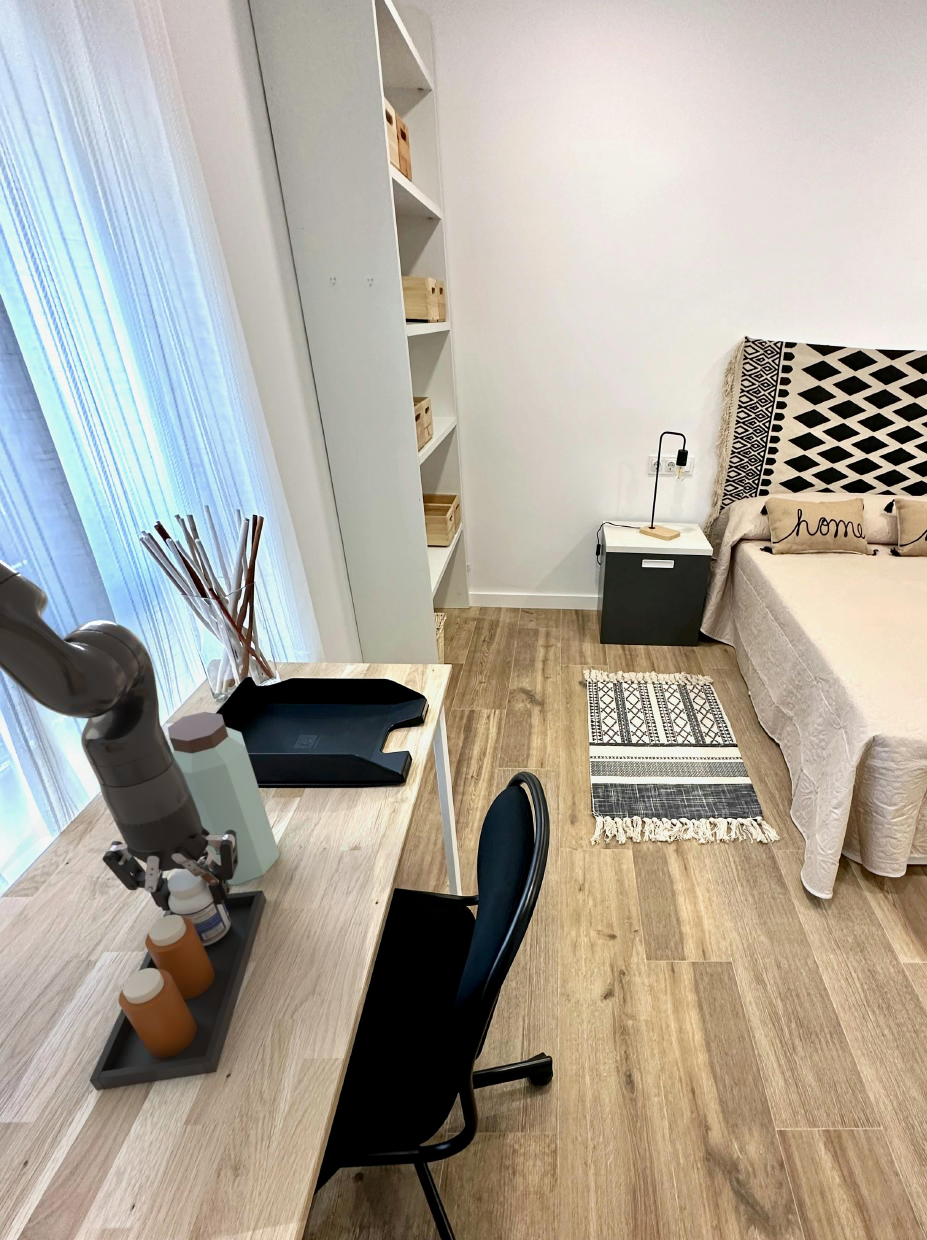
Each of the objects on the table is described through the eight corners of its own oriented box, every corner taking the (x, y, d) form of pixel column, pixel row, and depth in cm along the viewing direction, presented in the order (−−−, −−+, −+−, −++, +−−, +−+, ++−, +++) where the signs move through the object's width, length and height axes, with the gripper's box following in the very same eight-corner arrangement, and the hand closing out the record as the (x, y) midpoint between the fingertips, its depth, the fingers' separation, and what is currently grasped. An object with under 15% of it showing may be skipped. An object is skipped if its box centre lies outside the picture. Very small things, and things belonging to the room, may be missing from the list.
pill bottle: (194, 915, 84) (171, 863, 78) (237, 912, 84) (217, 860, 79) (178, 950, 79) (152, 897, 74) (222, 946, 80) (200, 894, 75)
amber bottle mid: (164, 1003, 74) (133, 947, 69) (178, 967, 78) (150, 912, 72) (208, 997, 75) (181, 941, 69) (220, 962, 79) (195, 907, 73)
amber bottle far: (141, 1062, 68) (105, 1007, 63) (157, 1020, 72) (125, 965, 67) (189, 1055, 69) (158, 1000, 64) (202, 1014, 73) (174, 959, 67)
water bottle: (258, 832, 99) (213, 697, 86) (296, 860, 95) (255, 722, 81) (194, 870, 92) (135, 729, 79) (232, 902, 88) (176, 759, 74)
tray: (100, 1095, 66) (88, 1080, 65) (177, 915, 86) (170, 900, 84) (218, 1077, 68) (210, 1062, 67) (268, 904, 88) (262, 890, 86)
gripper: (229, 772, 74) (264, 873, 83) (94, 783, 72) (144, 886, 81) (210, 815, 68) (249, 919, 77) (61, 829, 65) (120, 934, 75)
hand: (195, 902), depth 79 cm, fingers closed on pill bottle, 5 cm apart
